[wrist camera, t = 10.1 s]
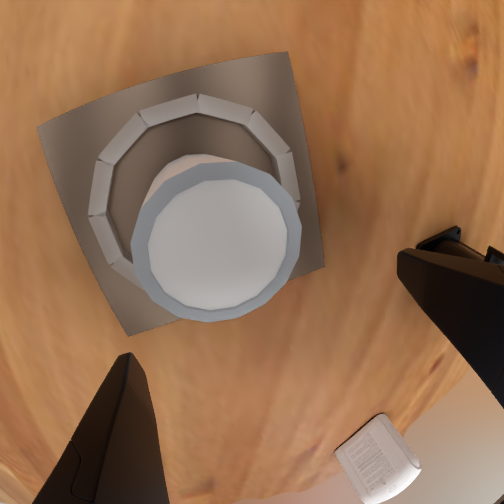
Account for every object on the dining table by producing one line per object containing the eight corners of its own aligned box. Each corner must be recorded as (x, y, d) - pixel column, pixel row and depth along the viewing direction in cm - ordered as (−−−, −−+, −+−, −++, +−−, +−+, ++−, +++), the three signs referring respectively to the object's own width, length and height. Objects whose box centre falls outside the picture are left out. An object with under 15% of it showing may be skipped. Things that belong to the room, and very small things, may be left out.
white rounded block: (344, 453, 42) (378, 508, 32) (328, 453, 40) (364, 513, 30) (389, 413, 41) (432, 469, 30) (376, 411, 39) (422, 472, 28)
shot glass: (273, 210, 20) (328, 259, 14) (185, 275, 20) (203, 348, 14) (211, 118, 16) (247, 123, 10) (113, 193, 16) (92, 241, 10)
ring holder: (281, 53, 17) (294, 48, 15) (318, 260, 24) (331, 272, 22) (42, 126, 14) (30, 127, 12) (128, 328, 21) (127, 345, 20)
